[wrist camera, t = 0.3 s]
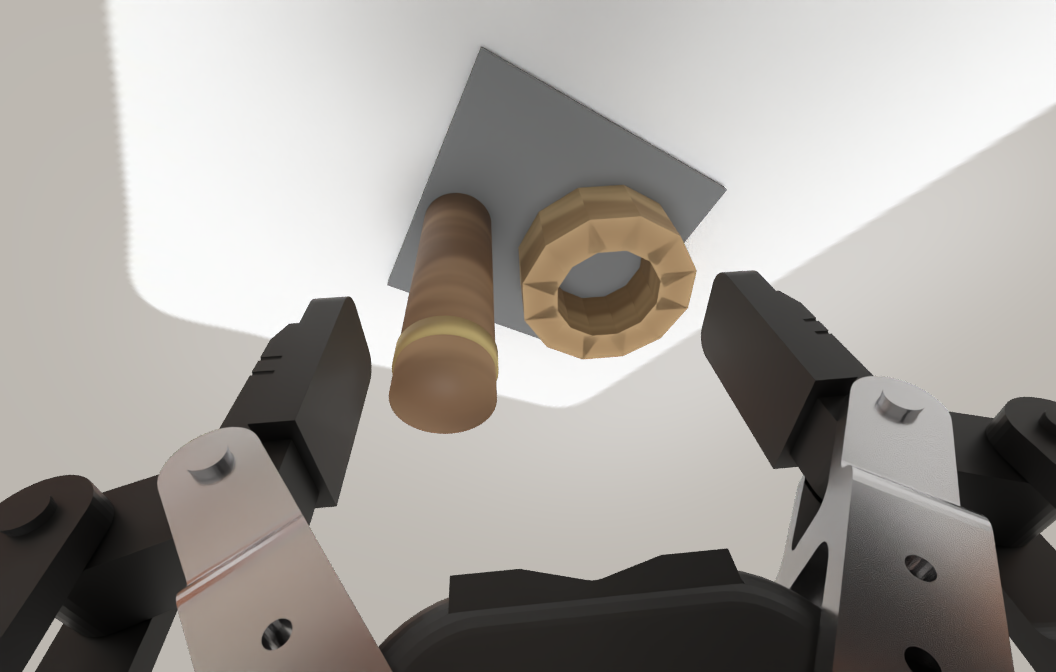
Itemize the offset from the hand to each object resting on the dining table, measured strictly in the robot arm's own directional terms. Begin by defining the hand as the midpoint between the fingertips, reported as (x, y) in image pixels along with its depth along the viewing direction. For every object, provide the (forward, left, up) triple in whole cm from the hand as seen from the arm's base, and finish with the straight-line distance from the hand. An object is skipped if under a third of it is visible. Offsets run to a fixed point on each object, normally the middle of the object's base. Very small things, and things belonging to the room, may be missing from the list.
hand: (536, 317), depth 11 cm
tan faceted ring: (+6, +9, -18) cm, 21 cm away
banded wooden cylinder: (+7, 0, -18) cm, 19 cm away
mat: (+6, +6, -18) cm, 20 cm away
